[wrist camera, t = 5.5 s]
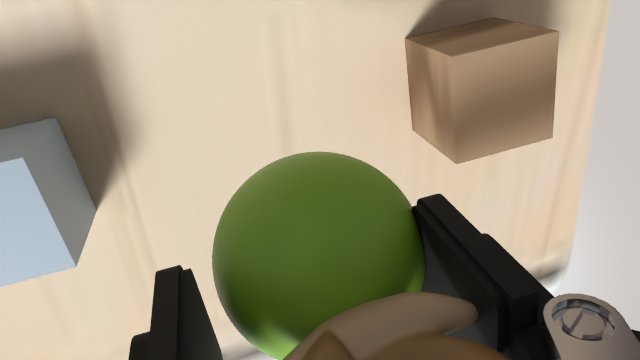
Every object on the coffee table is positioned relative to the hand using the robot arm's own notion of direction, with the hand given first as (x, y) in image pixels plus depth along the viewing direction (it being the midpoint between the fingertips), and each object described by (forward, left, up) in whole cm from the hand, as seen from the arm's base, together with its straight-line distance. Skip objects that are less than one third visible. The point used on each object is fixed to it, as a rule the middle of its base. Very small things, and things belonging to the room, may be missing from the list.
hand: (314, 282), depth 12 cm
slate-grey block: (0, -11, -14) cm, 18 cm away
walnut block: (0, +11, -14) cm, 18 cm away
